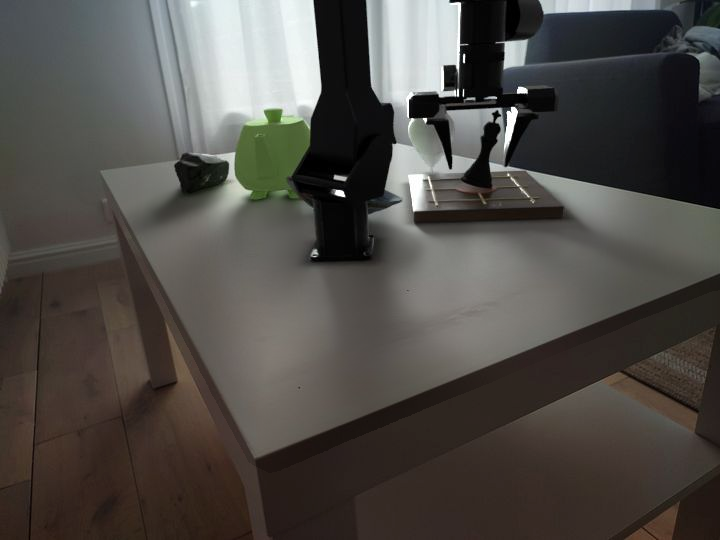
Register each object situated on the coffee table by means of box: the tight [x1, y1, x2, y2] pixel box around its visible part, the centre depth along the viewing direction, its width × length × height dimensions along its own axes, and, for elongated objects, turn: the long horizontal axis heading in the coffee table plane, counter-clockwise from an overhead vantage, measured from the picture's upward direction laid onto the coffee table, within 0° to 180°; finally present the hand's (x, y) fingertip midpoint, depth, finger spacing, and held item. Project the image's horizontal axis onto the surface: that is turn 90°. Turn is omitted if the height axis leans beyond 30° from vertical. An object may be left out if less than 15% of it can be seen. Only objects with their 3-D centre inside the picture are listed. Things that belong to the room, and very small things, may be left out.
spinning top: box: [407, 112, 456, 174], centre depth 88 cm, size 8×8×12 cm
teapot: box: [233, 107, 310, 200], centre depth 81 cm, size 20×13×13 cm
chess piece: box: [461, 109, 502, 188], centre depth 71 cm, size 4×4×10 cm
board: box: [408, 170, 565, 224], centre depth 74 cm, size 20×18×2 cm
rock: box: [173, 152, 230, 194], centre depth 89 cm, size 10×9×6 cm
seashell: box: [286, 176, 404, 215], centre depth 68 cm, size 15×12×5 cm
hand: (477, 167), depth 72 cm, fingers open, 7 cm apart
